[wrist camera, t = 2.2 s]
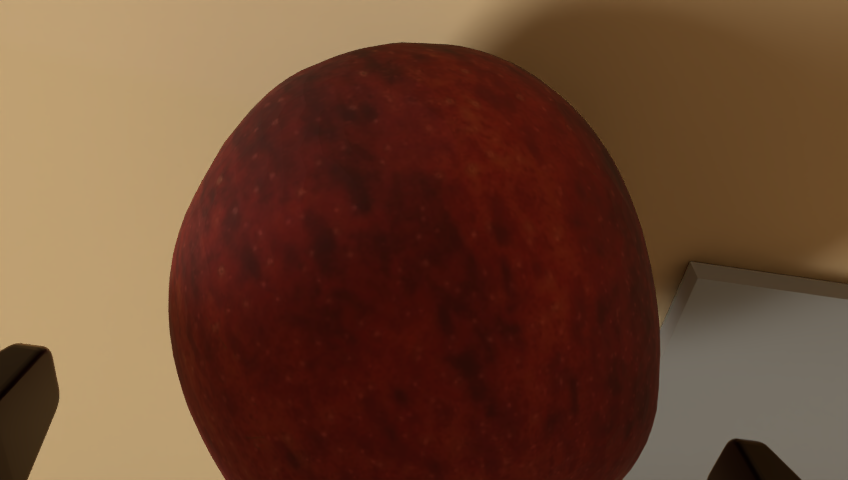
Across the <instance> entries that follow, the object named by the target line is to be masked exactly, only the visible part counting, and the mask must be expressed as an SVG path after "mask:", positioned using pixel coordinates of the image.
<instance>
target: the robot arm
mask: <svg viewBox="0 0 848 480" xmlns="http://www.w3.org/2000/svg"><path fill="white" fill-rule="evenodd" d="M58 402H59V387H58V382H57V377H56V372H55V367H54V362H53V357H52V354H51V352H50V350H49V349H48V348H46V347H44V346H37V345H30V344H22V343H17V344H13V345H10V346H8V347H6V348H5V349H3V350H1V351H0V480H27V479H28V477H29V474H30V472H31V470H32V467H33V465H34V462H35V460H36V458H37V455H38V453H39V450H40V448H41V446H42V443H43V441H44V438H45V436H46V434H47V431H48V429H49V426H50V424H51V422H52V419H53V417H54V414H55V412H56V409H57V406H58ZM707 480H802V479H801V478H800V477H799V476H798V475H797V474H796V473H795V472H794V471H792V470H791V469H790V468H789V467H788V466H787V465H786V464H785V463H784V462H783V461H782V460H781V459H780V458H779V457H778V456H777V455H776V454H775V453H774V452H773V451H772V450H771V449H770V448H769V447H768V446H767V445H766V444H764V443H762V442H759V441H754V440H746V439H739V438H734V439H731V440H730V441H728V442H727V444H726V445H725V447H724V449H723V450H722V452H721V454H720V456H719V457H718V459H717V461H716V463H715V464H714V466H713V468H712V469H711V471H710V473H709V475H708V478H707Z"/></svg>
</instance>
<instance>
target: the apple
mask: <svg viewBox="0 0 848 480" xmlns="http://www.w3.org/2000/svg"><path fill="white" fill-rule="evenodd" d="M168 312H169V327H170V337H171V343H172V350H173V357H174V361H175V365H176V369H177V373H178V377H179V380H180V384H181V387H182V391H183V394H184V397H185V400H186V402H187V405H188V408H189V411H190V413H191V415H192V417H193V420H194V422H195V424H196V426H197V428H198V431H199V433H200V435H201V437H202V439H203V441H204V443H205V445H206V447H207V449H208V451H209V452H210V454H211V456H212V458H213V460H214V461H215V463H216V465H217V466H218V468H219V470H220V471H221V473H222V475H223V476H224V478H225V479H226V480H622V479H623V478H624V477H625V476H626V475H627V474H628V472H629V471H630V470H631V469H632V467H633V466H634V464H635V463H636V461H637V460H638V458H639V456H640V454H641V453H642V451H643V449H644V447H645V445H646V443H647V441H648V438H649V435H650V432H651V430H652V427H653V423H654V419H655V415H656V412H657V403H658V392H659V373H660V327H659V317H658V307H657V299H656V292H655V286H654V281H653V275H652V270H651V265H650V261H649V256H648V252H647V248H646V244H645V240H644V236H643V232H642V228H641V225H640V222H639V219H638V217H637V214H636V211H635V208H634V205H633V202H632V200H631V197H630V195H629V193H628V190H627V188H626V186H625V183H624V181H623V179H622V177H621V175H620V173H619V171H618V169H617V167H616V165H615V163H614V161H613V159H612V158H611V156H610V154H609V153H608V151H607V150H606V148H605V147H604V145H603V144H602V142H601V141H600V139H599V138H598V137H597V135H596V134H595V132H594V131H593V130H592V128H591V127H590V126H589V125H588V123H587V122H586V121H585V120H584V119H583V118H582V117H581V115H580V114H579V113H578V112H577V111H576V110H575V109H574V108H573V107H572V106H571V105H570V104H569V103H568V102H567V101H565V100H564V99H563V98H562V97H561V96H560V95H558V94H557V93H556V92H555V91H554V90H552V89H551V88H550V87H548V86H547V85H546V84H545V83H543V82H542V81H541V80H540V79H538V78H537V77H535V76H534V75H532V74H530V73H529V72H527V71H525V70H524V69H522V68H520V67H519V66H517V65H515V64H513V63H510V62H508V61H506V60H504V59H501V58H499V57H496V56H494V55H491V54H489V53H485V52H482V51H478V50H475V49H471V48H466V47H461V46H455V45H446V44H427V43H403V42H402V43H390V44H385V45H379V46H373V47H367V48H363V49H359V50H355V51H351V52H348V53H345V54H342V55H338V56H335V57H333V58H330V59H328V60H325V61H323V62H321V63H318V64H316V65H313V66H311V67H309V68H306V69H304V70H301V71H300V72H298V73H296V74H294V75H293V76H291V77H289V78H288V79H286V80H285V81H283V82H282V83H280V84H279V85H278V86H276V87H275V88H274V89H273V90H271V91H270V92H269V93H268V94H267V95H266V96H265V97H264V98H263V99H262V100H261V101H260V102H259V103H258V104H257V105H256V106H255V107H254V108H253V109H252V110H251V111H250V112H249V113H248V114H247V115H246V117H245V118H244V119H243V120H242V121H241V123H240V124H239V125H238V126H237V128H236V129H235V130H234V131H233V133H232V134H231V135H230V136H229V138H228V139H227V140H226V141H225V143H224V144H223V146H222V148H221V149H220V151H219V153H218V154H217V156H216V158H215V159H214V161H213V163H212V165H211V166H210V168H209V170H208V172H207V173H206V175H205V177H204V179H203V180H202V182H201V184H200V186H199V188H198V190H197V192H196V194H195V196H194V197H193V200H192V202H191V204H190V206H189V208H188V210H187V212H186V214H185V217H184V220H183V223H182V225H181V228H180V231H179V234H178V238H177V241H176V245H175V249H174V253H173V259H172V265H171V272H170V281H169V309H168Z"/></svg>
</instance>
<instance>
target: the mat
mask: <svg viewBox="0 0 848 480" xmlns="http://www.w3.org/2000/svg"><path fill="white" fill-rule="evenodd" d="M734 438H739V439H746V440H754V441H759V442H762V443H764V444H766V445H767V446H768V447H769V448H770V449H771V450H772V451H773V452H774V453H775V454H776V455H777V456H778V457H779V458H780V459H781V460H782V461H783V462H784V463H785V464H786V465H787V466H788V467H789V468H790V469H791V470H792V471H794V472H795V473H796V474H797V475H798V476H799V477H800V478H801V479H802V480H848V284H843V283H837V282H830V281H823V280H816V279H809V278H802V277H795V276H788V275H781V274H774V273H767V272H760V271H753V270H747V269H740V268H733V267H726V266H719V265H712V264H705V263H698V262H691V261H690V263H689V265H688V267H687V270H686V272H685V274H684V276H683V279H682V281H681V283H680V285H679V288H678V290H677V292H676V295H675V297H674V299H673V301H672V304H671V306H670V308H669V310H668V313H667V315H666V317H665V320H664V322H663V324H662V326H661V329H660V373H659V392H658V403H657V412H656V415H655V419H654V423H653V427H652V430H651V432H650V435H649V438H648V441H647V443H646V445H645V447H644V449H643V451H642V453H641V454H640V456H639V458H638V460H637V461H636V463H635V464H634V466H633V467H632V469H631V470H630V471H629V472H628V474H627V475H626V476H625V477H624V478H623V479H622V480H707V478H708V475H709V473H710V471H711V469H712V468H713V466H714V464H715V463H716V461H717V459H718V457H719V456H720V454H721V452H722V450H723V449H724V447H725V445H726V444H727V442H728V441H730V440H731V439H734Z"/></svg>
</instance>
